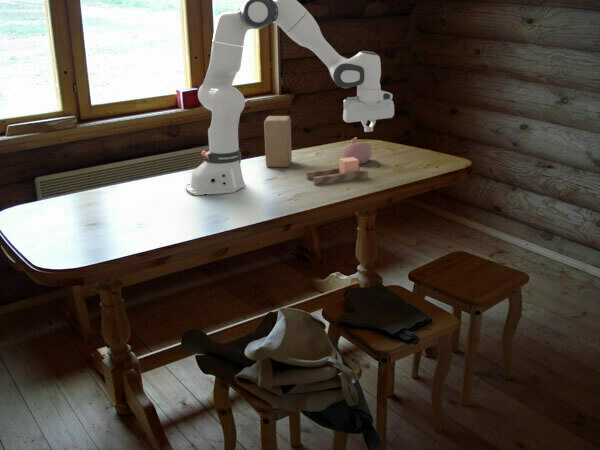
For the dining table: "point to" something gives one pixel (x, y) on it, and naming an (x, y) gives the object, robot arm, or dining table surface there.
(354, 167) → the block
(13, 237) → the dining table surface
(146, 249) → the dining table surface
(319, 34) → the robot arm
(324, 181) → the chute
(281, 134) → the wooden block
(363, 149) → the mortar and pestle
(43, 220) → the dining table surface
